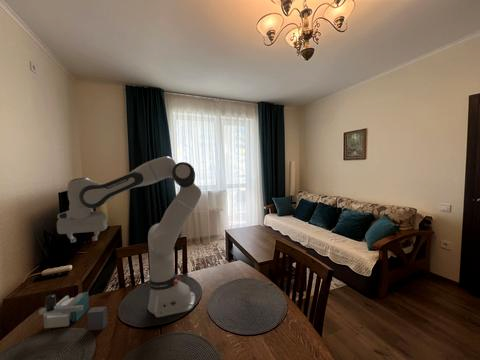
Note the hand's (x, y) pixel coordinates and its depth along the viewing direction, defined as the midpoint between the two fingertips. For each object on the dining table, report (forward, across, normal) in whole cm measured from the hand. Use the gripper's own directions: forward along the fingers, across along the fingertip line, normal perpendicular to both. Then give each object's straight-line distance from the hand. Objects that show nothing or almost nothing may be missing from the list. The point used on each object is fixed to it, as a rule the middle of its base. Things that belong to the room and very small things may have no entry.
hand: (84, 241), depth 99 cm
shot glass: (+33, +6, +4) cm, 34 cm away
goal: (+33, +8, +4) cm, 34 cm away
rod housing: (+34, -10, +13) cm, 38 cm away
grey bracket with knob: (+33, +3, +7) cm, 34 cm away
